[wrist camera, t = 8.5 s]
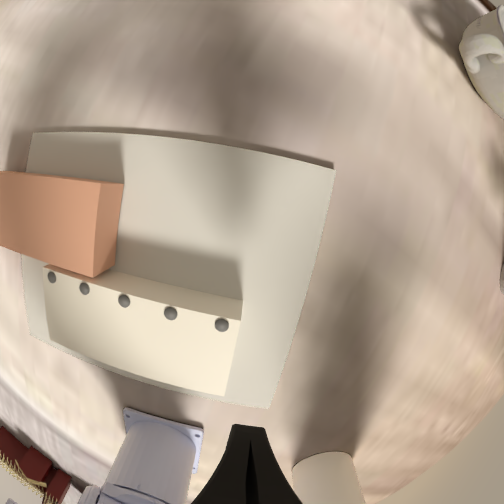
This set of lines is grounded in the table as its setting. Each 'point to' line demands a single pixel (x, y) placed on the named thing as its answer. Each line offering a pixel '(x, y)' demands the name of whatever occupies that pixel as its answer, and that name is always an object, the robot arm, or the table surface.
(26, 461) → the toy houses
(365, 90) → the table surface
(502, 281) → the house plant
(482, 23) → the teacup
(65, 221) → the stub
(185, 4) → the table surface
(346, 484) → the cylindrical container
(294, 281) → the mat
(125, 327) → the ticket book
